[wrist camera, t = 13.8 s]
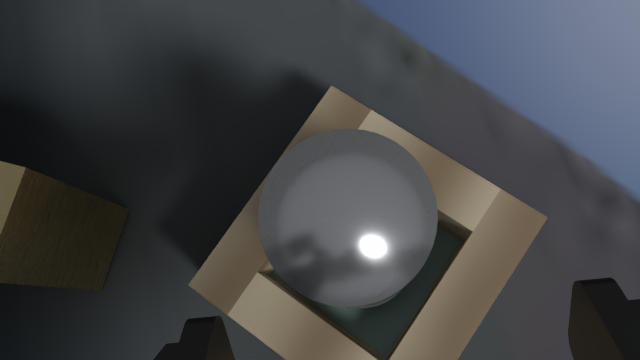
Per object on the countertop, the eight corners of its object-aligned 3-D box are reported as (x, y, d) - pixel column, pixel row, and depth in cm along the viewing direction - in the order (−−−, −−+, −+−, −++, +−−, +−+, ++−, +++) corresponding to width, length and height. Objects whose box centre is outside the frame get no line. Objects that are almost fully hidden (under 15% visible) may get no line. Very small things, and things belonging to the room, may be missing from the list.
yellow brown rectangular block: (27, 269, 27) (-117, 251, 19) (56, 190, 28) (-72, 142, 20) (101, 290, 27) (-18, 281, 19) (129, 209, 27) (25, 167, 20)
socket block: (214, 288, 26) (188, 285, 22) (338, 114, 27) (331, 85, 24) (399, 428, 24) (401, 447, 20) (526, 230, 25) (547, 217, 21)
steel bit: (298, 272, 24) (222, 238, 13) (350, 196, 25) (324, 97, 13) (376, 327, 24) (370, 344, 12) (428, 248, 24) (473, 190, 12)
